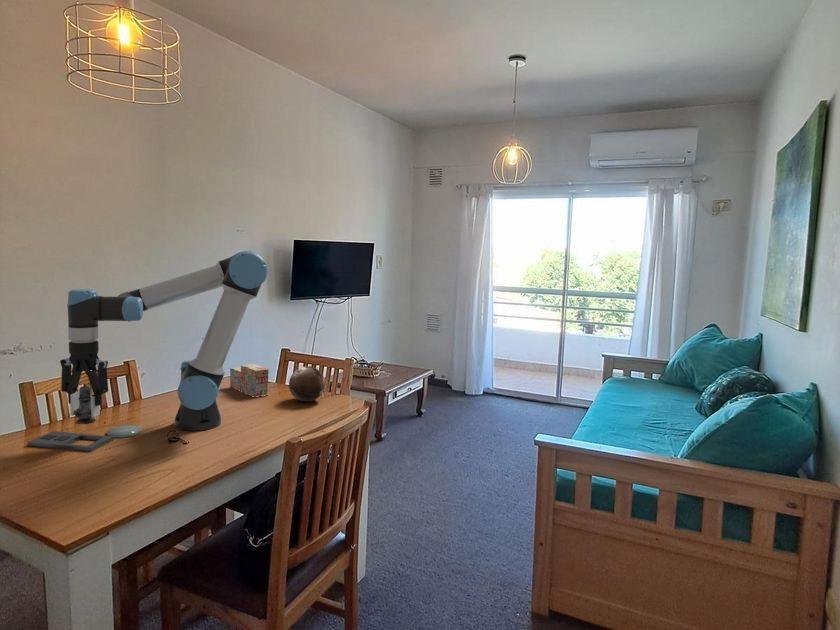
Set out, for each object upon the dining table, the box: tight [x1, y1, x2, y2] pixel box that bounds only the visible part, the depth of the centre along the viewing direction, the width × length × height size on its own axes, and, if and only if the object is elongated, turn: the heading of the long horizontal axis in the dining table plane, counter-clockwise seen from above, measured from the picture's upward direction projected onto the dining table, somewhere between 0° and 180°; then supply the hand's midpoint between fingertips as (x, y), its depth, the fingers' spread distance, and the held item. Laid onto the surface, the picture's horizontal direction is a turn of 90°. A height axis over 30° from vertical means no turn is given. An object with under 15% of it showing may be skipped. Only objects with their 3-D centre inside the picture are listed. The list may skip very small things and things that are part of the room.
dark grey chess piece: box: [74, 383, 97, 425], centre depth 157 cm, size 6×6×12 cm
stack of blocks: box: [229, 363, 269, 397], centre depth 228 cm, size 21×6×12 cm, turn 49°
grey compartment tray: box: [27, 430, 114, 453], centre depth 158 cm, size 20×10×1 cm, turn 86°
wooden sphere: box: [288, 366, 326, 402], centre depth 219 cm, size 15×15×15 cm
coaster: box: [106, 424, 143, 439], centre depth 170 cm, size 10×10×1 cm
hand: (85, 414), depth 157 cm, fingers closed on dark grey chess piece, 6 cm apart
